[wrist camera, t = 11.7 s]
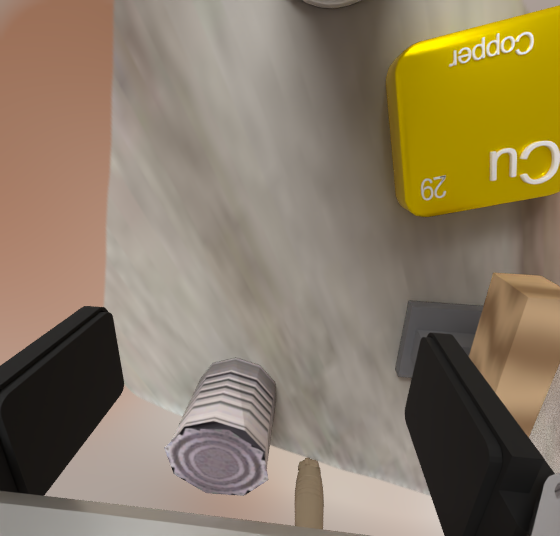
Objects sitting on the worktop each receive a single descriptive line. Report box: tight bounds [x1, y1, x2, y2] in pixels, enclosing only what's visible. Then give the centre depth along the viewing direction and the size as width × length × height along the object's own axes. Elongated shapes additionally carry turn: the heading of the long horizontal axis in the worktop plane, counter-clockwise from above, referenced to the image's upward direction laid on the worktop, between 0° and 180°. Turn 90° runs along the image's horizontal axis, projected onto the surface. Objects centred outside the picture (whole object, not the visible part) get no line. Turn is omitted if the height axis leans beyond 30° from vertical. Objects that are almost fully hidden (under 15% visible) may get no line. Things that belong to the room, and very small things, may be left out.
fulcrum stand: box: [395, 301, 483, 378], centre depth 37 cm, size 10×12×8 cm
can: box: [165, 358, 276, 496], centre depth 41 cm, size 11×11×12 cm
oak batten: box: [469, 273, 560, 438], centre depth 31 cm, size 24×4×5 cm, turn 177°
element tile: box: [386, 5, 560, 217], centre depth 30 cm, size 15×15×5 cm
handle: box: [295, 458, 324, 530], centre depth 43 cm, size 5×6×15 cm
